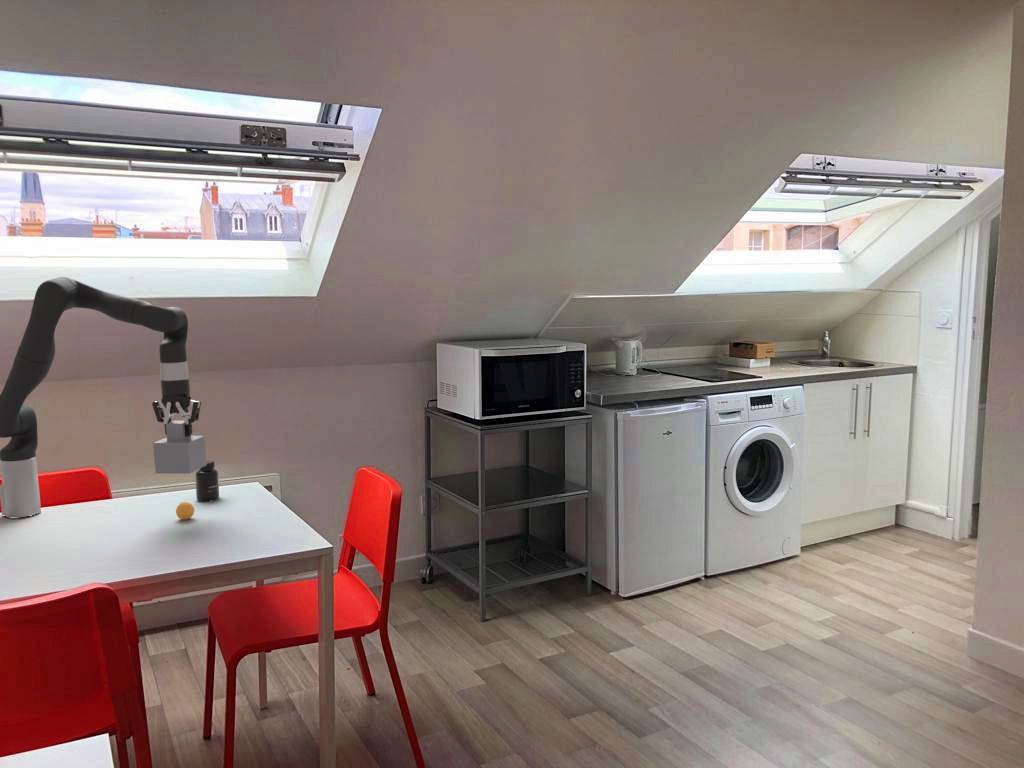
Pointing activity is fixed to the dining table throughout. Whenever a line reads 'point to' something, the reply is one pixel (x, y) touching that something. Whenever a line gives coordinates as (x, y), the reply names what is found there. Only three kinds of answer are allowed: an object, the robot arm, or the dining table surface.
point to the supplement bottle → (207, 482)
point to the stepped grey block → (179, 451)
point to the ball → (185, 510)
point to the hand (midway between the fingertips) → (179, 436)
